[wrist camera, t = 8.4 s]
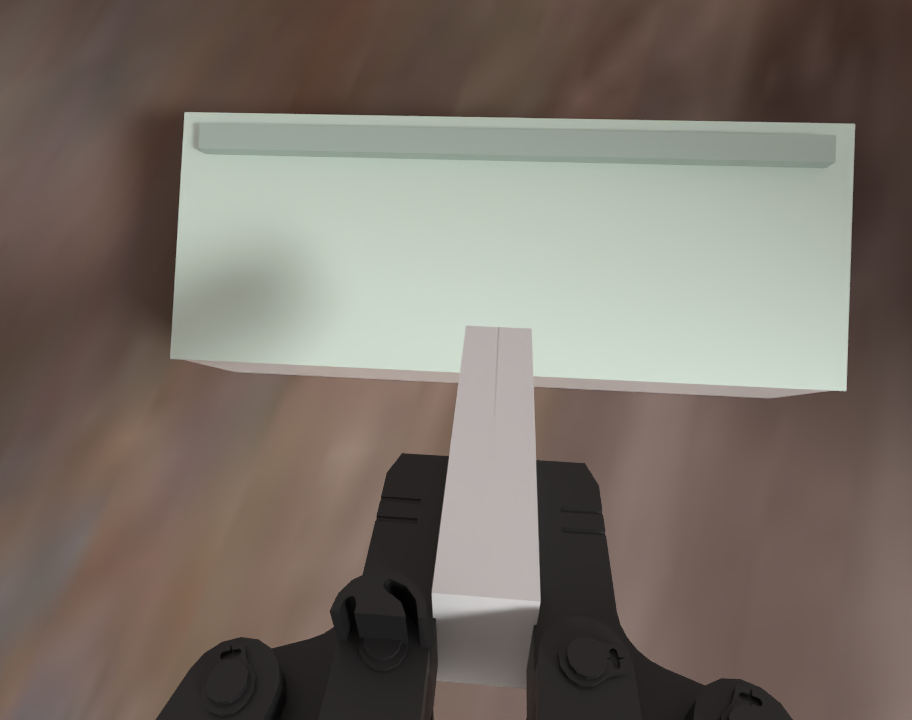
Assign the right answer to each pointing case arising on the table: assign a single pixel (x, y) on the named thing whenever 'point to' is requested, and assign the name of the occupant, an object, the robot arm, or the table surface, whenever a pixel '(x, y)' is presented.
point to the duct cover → (518, 244)
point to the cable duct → (537, 380)
